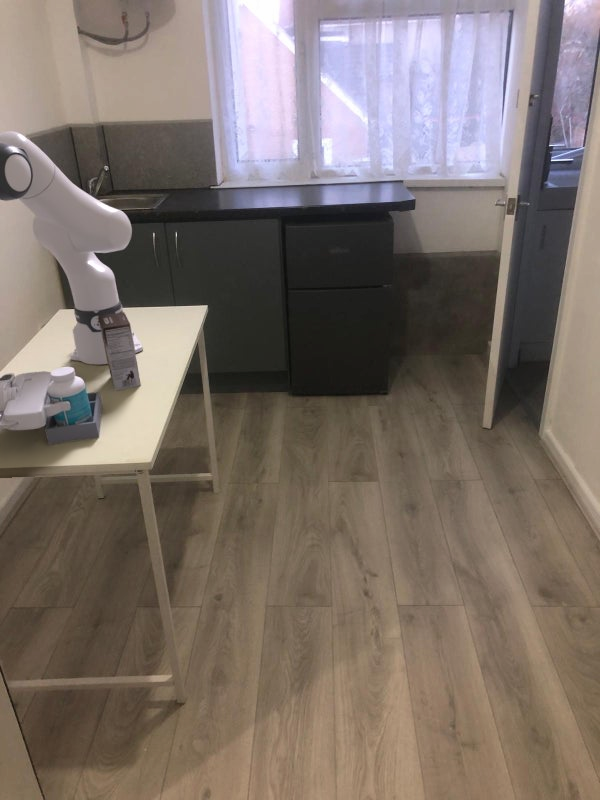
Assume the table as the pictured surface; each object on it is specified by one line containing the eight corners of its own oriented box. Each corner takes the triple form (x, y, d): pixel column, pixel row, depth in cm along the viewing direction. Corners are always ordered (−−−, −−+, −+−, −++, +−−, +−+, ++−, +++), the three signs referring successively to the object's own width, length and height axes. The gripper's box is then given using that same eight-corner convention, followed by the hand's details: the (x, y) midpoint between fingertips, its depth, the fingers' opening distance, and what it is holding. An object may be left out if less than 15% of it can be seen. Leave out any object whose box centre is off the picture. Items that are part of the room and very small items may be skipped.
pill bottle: (98, 418, 142) (85, 362, 135) (89, 436, 135) (76, 377, 129) (63, 420, 142) (50, 364, 135) (53, 438, 135) (38, 380, 129)
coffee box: (109, 376, 161) (97, 315, 154) (135, 371, 163) (124, 311, 156) (114, 391, 153) (101, 327, 146) (141, 385, 155) (130, 322, 148)
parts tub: (56, 411, 146) (53, 397, 144) (102, 405, 147) (99, 391, 146) (49, 444, 133) (45, 429, 131) (99, 437, 134) (95, 422, 133)
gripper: (-12, 413, 122) (64, 403, 124) (7, 370, 140) (73, 361, 142) (-3, 442, 125) (71, 431, 127) (14, 396, 143) (79, 387, 145)
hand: (72, 394), depth 135 cm, fingers open, 8 cm apart
